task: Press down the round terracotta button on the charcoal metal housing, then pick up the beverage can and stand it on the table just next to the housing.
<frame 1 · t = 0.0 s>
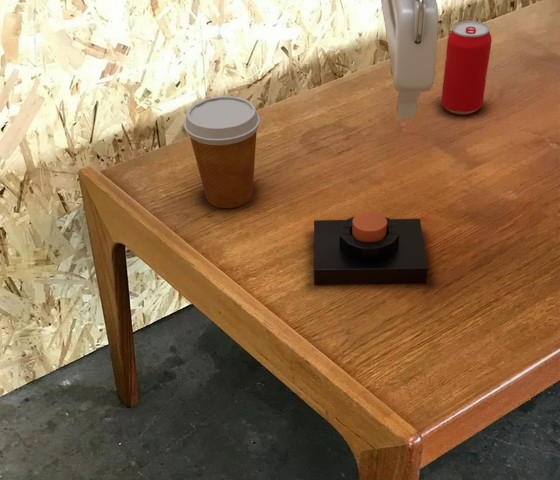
hand: (402, 94, 84), 19 cm above the table, tool pointing down, fingers open, 8 cm apart
button: (369, 227, 92), point 4 cm above the table, slide at 0.1 cm
housing: (368, 258, 96), on the table
beverage can: (460, 108, 122), on the table
disposable coffee cup: (229, 196, 107), on the table
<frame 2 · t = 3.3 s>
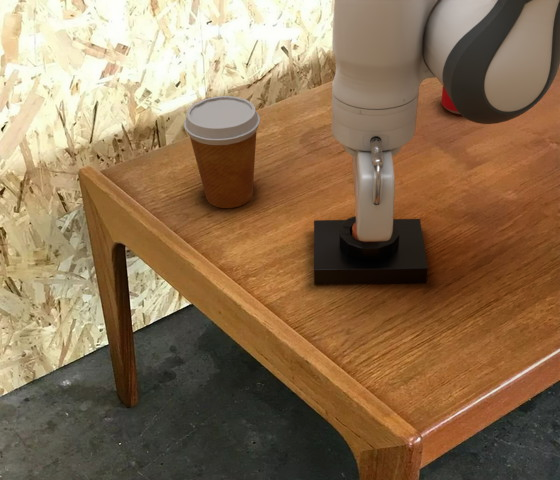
hand: (368, 227, 92), 4 cm above the table, tool pointing down, fingers closed, pressing on button
button: (369, 233, 93), point 4 cm above the table, slide at -0.9 cm, touching gripper
everything else where it was.
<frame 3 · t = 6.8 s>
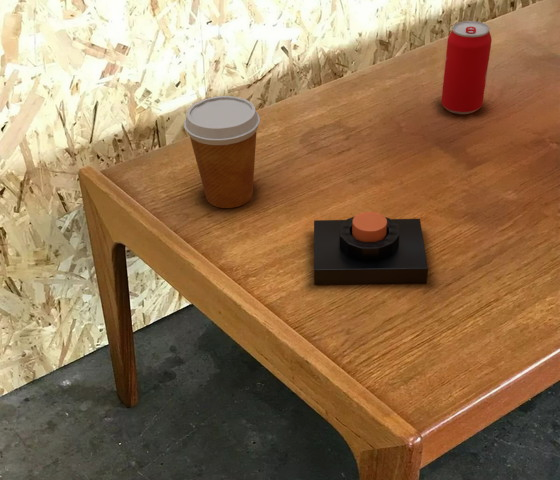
button: (369, 227, 92), point 4 cm above the table, slide at 0.1 cm
everything else where it was.
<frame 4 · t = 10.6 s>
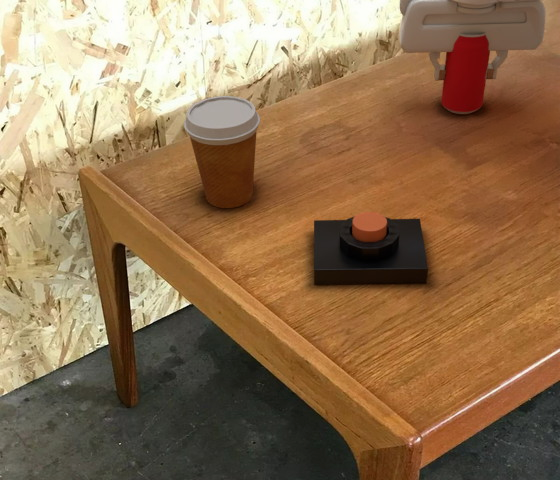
hand: (464, 78, 118), 5 cm above the table, tool pointing down, fingers closed on beverage can, 6 cm apart
beverage can: (460, 108, 122), on the table, touching gripper
everything else where it was.
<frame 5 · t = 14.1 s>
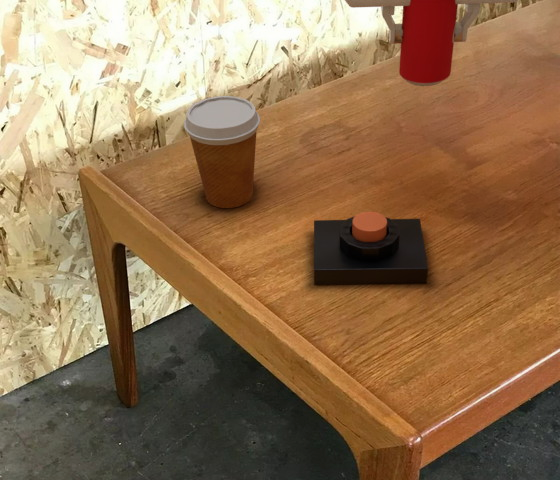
hand: (427, 41, 94), 19 cm above the table, tool pointing down, fingers closed on beverage can, 6 cm apart
beverage can: (423, 79, 98), point 14 cm above the table, touching gripper
everything else where it was.
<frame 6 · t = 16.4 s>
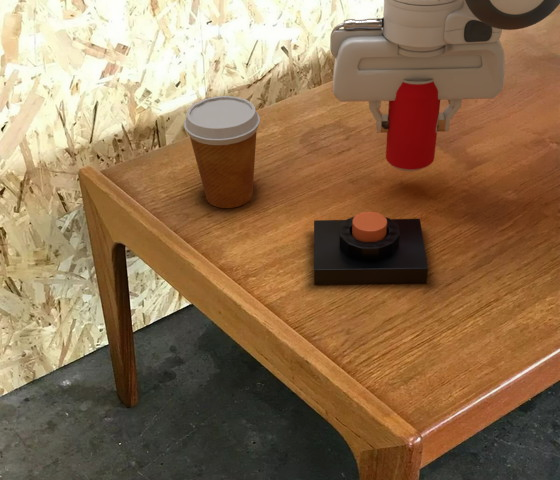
hand: (412, 130, 100), 9 cm above the table, tool pointing down, fingers closed on beverage can, 6 cm apart
beverage can: (409, 163, 103), point 4 cm above the table, touching gripper
everything else where it was.
when the fingers open (4 cm above the table, at t = 18.0 s): beverage can stays where it is, on the table.
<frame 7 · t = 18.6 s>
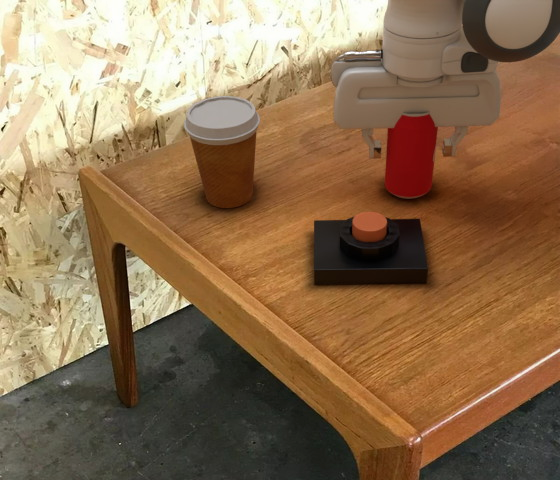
hand: (411, 155, 102), 5 cm above the table, tool pointing down, fingers open, 8 cm apart
beverage can: (407, 190, 106), on the table
everything else where it was.
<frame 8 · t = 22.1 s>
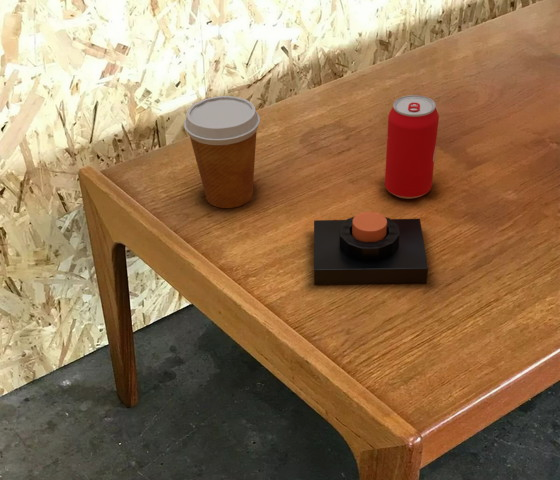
nothing on the table moved.
at the end: button pushed in 1.0 cm at the most during the clip, back to where it started at the end; beverage can inside the target area (0.1 cm from its centre), on the table; beverage can tilted 0° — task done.
